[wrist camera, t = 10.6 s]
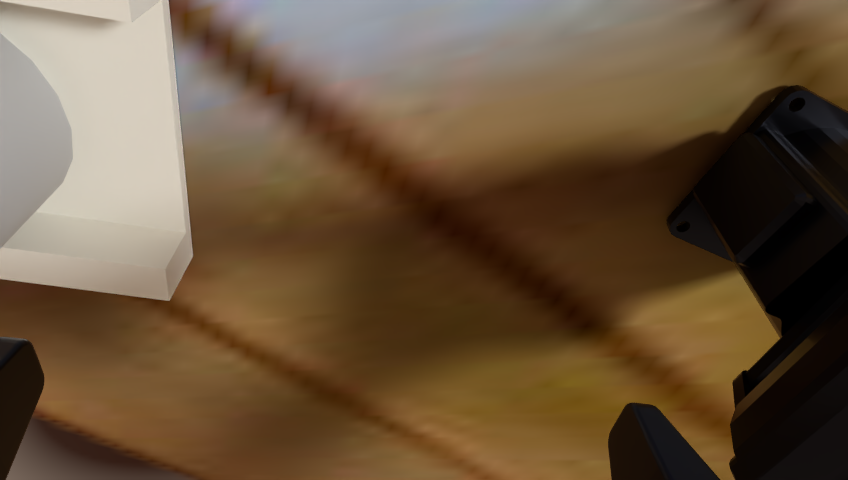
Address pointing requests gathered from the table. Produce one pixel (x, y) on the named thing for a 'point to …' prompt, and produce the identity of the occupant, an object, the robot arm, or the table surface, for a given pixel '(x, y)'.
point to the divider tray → (106, 149)
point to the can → (28, 139)
